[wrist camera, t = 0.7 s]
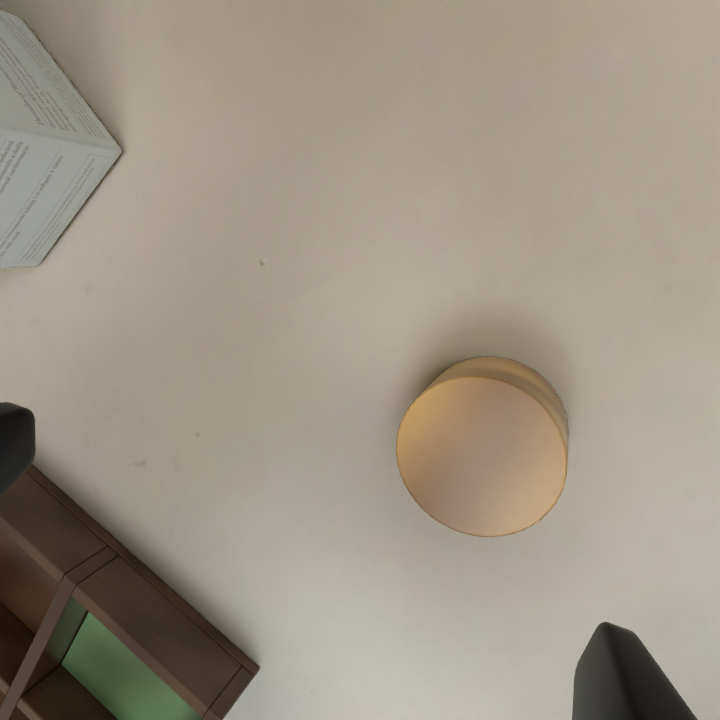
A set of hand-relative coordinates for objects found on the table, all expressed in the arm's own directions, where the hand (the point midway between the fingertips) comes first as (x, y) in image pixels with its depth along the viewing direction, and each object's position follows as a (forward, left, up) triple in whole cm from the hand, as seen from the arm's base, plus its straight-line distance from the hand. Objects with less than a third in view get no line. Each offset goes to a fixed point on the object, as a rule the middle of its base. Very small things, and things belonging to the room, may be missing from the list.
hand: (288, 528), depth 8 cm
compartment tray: (+8, +25, -12) cm, 29 cm away
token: (-2, +1, -12) cm, 12 cm away
